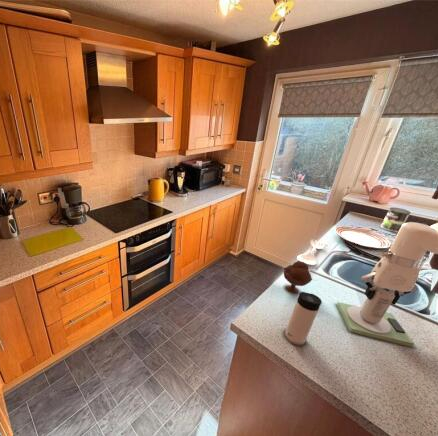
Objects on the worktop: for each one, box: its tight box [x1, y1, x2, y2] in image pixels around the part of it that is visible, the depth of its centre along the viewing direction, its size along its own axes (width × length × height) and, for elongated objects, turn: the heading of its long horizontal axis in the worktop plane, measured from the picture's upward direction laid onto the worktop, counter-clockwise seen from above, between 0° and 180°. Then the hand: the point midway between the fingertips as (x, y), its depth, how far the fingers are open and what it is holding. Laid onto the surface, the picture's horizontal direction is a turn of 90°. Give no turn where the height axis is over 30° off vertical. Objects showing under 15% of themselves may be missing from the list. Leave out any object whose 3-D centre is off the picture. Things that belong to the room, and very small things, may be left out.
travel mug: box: [284, 291, 322, 346], centre depth 79 cm, size 6×7×20 cm
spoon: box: [296, 237, 329, 266], centre depth 132 cm, size 9×32×4 cm, turn 133°
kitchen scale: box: [336, 301, 415, 348], centre depth 88 cm, size 18×14×3 cm
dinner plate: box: [334, 225, 392, 249], centre depth 147 cm, size 28×27×3 cm
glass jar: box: [380, 207, 411, 233], centre depth 159 cm, size 10×10×14 cm
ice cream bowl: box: [283, 260, 313, 295], centre depth 103 cm, size 11×11×15 cm
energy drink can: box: [359, 287, 395, 324], centre depth 85 cm, size 6×6×15 cm
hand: (379, 298), depth 84 cm, fingers closed on energy drink can, 6 cm apart
